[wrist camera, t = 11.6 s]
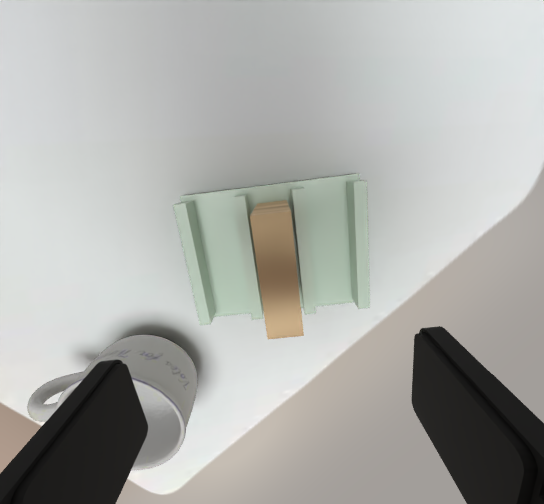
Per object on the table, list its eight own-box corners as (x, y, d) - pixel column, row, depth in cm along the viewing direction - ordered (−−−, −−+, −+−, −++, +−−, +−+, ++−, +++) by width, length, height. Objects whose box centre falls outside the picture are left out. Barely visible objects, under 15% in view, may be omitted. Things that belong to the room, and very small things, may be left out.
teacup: (217, 337, 29) (196, 397, 21) (193, 413, 32) (168, 490, 24) (86, 299, 28) (15, 348, 20) (74, 382, 31) (8, 451, 23)
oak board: (257, 203, 24) (249, 216, 17) (286, 200, 24) (290, 211, 17) (269, 296, 26) (267, 339, 20) (296, 293, 26) (303, 335, 20)
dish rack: (183, 195, 25) (170, 198, 22) (356, 173, 24) (367, 173, 21) (208, 312, 28) (200, 330, 25) (360, 296, 27) (371, 312, 24)
